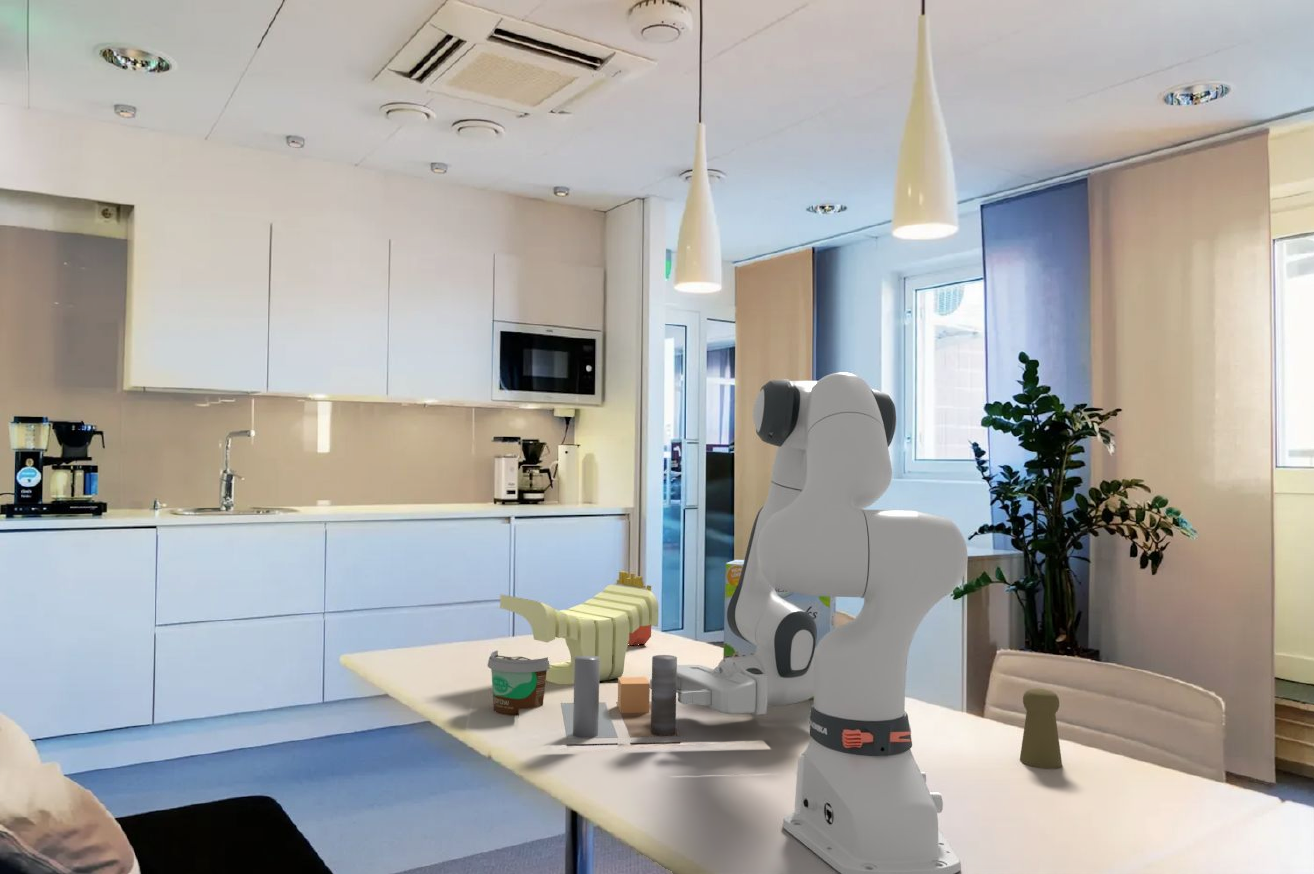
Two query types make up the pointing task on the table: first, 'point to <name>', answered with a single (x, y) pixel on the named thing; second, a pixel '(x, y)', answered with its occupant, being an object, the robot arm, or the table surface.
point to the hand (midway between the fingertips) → (665, 691)
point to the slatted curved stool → (590, 627)
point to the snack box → (815, 606)
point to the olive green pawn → (1041, 730)
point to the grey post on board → (657, 704)
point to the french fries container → (643, 631)
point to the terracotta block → (633, 694)
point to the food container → (517, 683)
